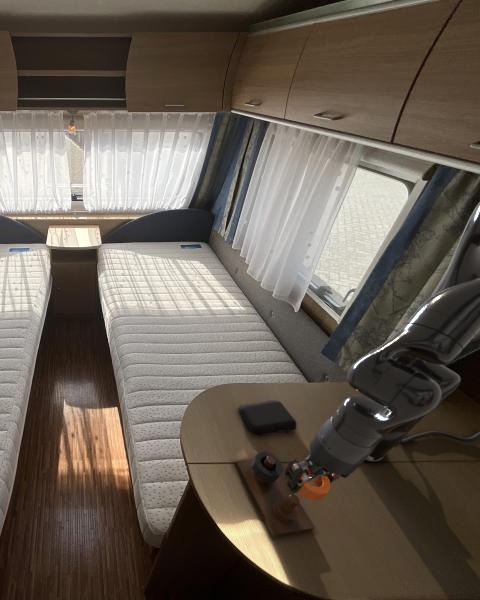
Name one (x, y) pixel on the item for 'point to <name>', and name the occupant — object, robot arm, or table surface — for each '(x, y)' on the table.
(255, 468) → the black tape
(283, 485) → the tape rack
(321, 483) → the orange tape
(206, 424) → the table surface
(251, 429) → the carrying case
